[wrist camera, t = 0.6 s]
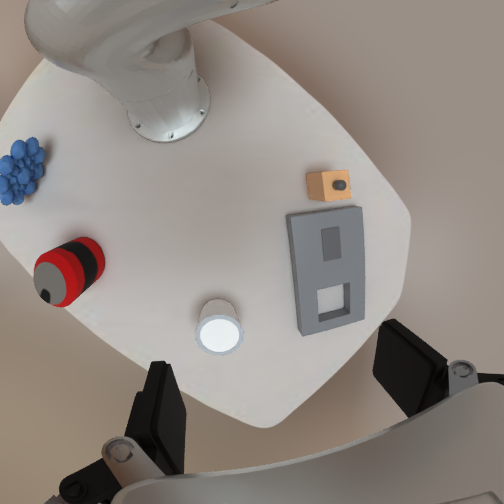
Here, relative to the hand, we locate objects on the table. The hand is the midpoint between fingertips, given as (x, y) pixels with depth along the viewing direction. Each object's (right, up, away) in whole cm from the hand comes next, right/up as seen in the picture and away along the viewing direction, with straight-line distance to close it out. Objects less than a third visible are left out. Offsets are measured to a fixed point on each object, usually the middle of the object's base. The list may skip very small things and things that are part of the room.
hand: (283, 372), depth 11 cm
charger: (+9, +16, +30) cm, 35 cm away
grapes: (-38, +19, +23) cm, 48 cm away
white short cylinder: (-7, -5, +33) cm, 34 cm away
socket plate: (+11, +2, +34) cm, 35 cm away
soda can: (-28, +4, +28) cm, 40 cm away
